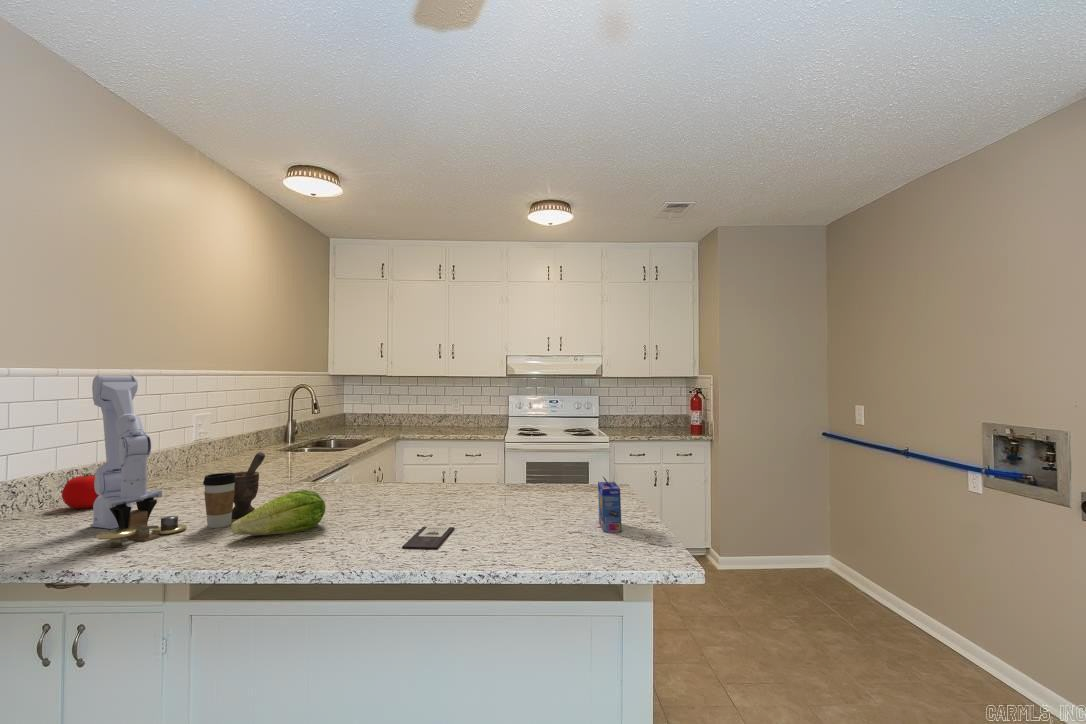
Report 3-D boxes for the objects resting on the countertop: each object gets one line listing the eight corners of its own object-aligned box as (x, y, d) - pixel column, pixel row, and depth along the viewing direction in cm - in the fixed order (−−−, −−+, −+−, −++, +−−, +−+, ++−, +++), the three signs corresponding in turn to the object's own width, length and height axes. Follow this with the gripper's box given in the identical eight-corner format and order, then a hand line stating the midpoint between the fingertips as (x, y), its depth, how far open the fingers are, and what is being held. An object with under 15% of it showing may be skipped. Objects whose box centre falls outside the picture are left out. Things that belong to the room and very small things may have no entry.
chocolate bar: (402, 546, 135) (423, 526, 153) (401, 550, 135) (423, 529, 153) (436, 547, 135) (454, 527, 153) (436, 551, 135) (454, 530, 153)
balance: (88, 549, 135) (88, 533, 135) (172, 526, 156) (172, 512, 156) (110, 552, 132) (110, 536, 132) (193, 528, 153) (193, 514, 153)
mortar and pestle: (273, 511, 172) (273, 449, 173) (260, 518, 164) (261, 453, 164) (235, 512, 171) (236, 449, 172) (221, 519, 163) (222, 453, 163)
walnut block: (118, 535, 147) (119, 513, 147) (135, 531, 151) (136, 509, 151) (130, 537, 145) (130, 514, 145) (147, 532, 150) (147, 510, 150)
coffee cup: (220, 530, 152) (221, 477, 152) (195, 528, 153) (195, 475, 154) (242, 522, 160) (243, 471, 160) (218, 520, 162) (219, 470, 162)
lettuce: (220, 517, 147) (231, 495, 140) (309, 496, 165) (323, 477, 158) (231, 558, 142) (243, 538, 135) (321, 532, 160) (336, 514, 153)
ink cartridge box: (597, 522, 159) (597, 473, 159) (615, 522, 159) (615, 473, 160) (602, 532, 149) (602, 480, 150) (622, 532, 149) (621, 480, 150)
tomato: (51, 511, 173) (52, 476, 173) (92, 501, 186) (92, 469, 186) (82, 512, 171) (83, 478, 171) (121, 503, 184) (122, 470, 184)
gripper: (116, 485, 140) (115, 537, 140) (170, 475, 154) (169, 523, 154) (97, 483, 142) (96, 535, 142) (152, 474, 156) (151, 521, 156)
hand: (133, 528), depth 148 cm, fingers closed on walnut block, 4 cm apart
